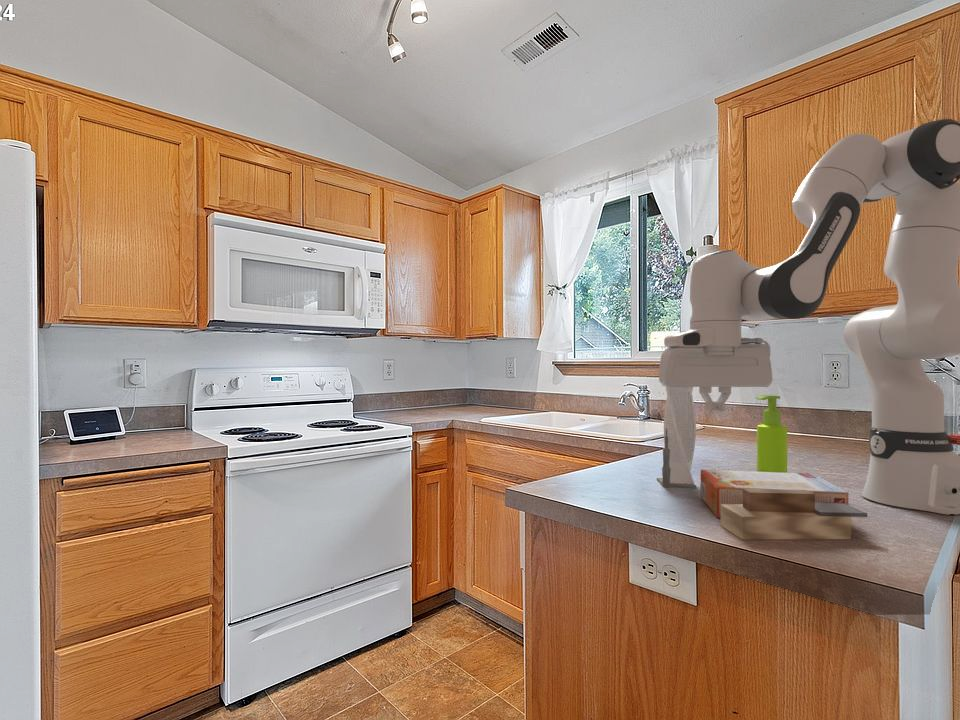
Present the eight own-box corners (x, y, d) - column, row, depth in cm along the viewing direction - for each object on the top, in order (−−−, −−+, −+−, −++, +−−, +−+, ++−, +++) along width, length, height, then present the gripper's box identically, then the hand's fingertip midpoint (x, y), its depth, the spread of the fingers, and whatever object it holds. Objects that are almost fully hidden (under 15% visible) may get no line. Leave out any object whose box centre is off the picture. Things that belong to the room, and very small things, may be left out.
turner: (842, 506, 86) (842, 488, 86) (867, 517, 80) (867, 497, 80) (738, 504, 88) (738, 486, 88) (754, 514, 82) (754, 495, 82)
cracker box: (716, 520, 91) (850, 526, 87) (716, 485, 91) (850, 490, 87) (699, 498, 105) (815, 503, 101) (699, 468, 105) (814, 472, 101)
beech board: (820, 524, 88) (820, 504, 88) (851, 539, 81) (851, 516, 81) (720, 525, 87) (720, 504, 87) (742, 539, 80) (742, 516, 80)
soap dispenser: (747, 483, 118) (748, 394, 118) (769, 480, 120) (769, 394, 121) (771, 489, 112) (771, 396, 112) (793, 486, 115) (793, 395, 115)
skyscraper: (655, 478, 123) (655, 359, 123) (691, 479, 122) (691, 359, 122) (663, 486, 114) (663, 359, 114) (701, 488, 113) (702, 359, 113)
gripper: (760, 338, 101) (760, 409, 101) (656, 338, 101) (655, 409, 101) (779, 337, 95) (779, 413, 95) (668, 336, 95) (668, 412, 95)
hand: (715, 411), depth 98 cm, fingers closed
